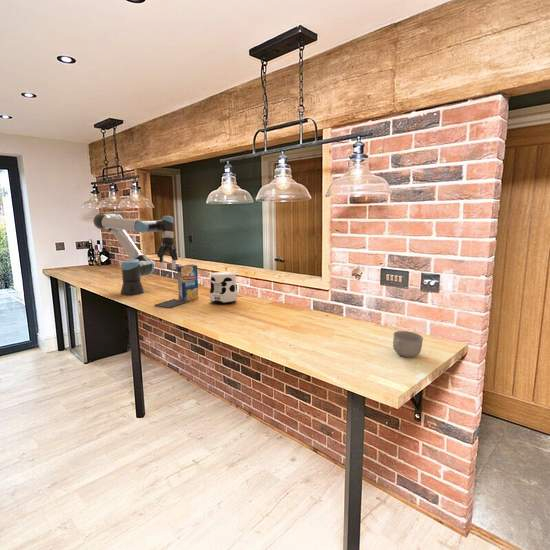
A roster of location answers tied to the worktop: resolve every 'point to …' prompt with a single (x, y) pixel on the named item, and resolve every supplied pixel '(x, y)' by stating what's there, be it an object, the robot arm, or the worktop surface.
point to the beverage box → (187, 282)
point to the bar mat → (171, 303)
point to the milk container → (223, 287)
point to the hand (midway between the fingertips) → (167, 268)
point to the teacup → (407, 343)
